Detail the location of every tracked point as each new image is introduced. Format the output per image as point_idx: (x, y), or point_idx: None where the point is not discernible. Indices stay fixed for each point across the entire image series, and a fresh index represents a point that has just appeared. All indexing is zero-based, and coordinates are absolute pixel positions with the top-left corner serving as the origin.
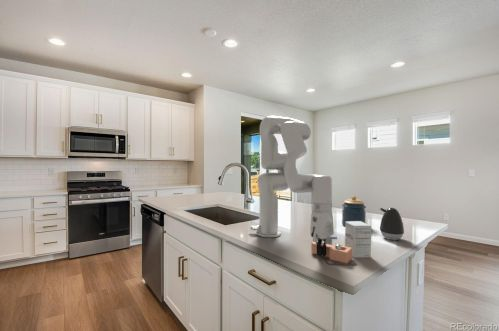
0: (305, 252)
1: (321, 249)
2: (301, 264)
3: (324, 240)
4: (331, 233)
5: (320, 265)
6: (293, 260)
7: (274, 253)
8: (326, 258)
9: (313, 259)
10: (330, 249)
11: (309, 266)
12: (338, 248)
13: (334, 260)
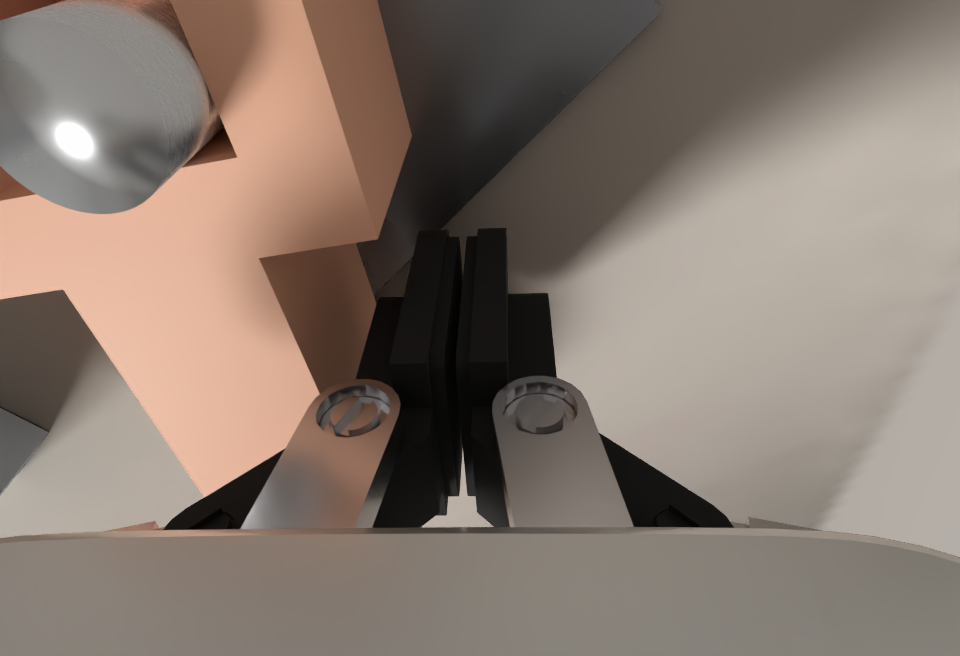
0: (449, 496)
1: (549, 343)
2: (931, 327)
3: (379, 498)
4: (9, 644)
5: (794, 102)
6: (838, 454)
7: None
8: (430, 190)
9: (607, 316)
10: (375, 205)
11: (953, 208)
12: (164, 40)
13: (389, 21)
